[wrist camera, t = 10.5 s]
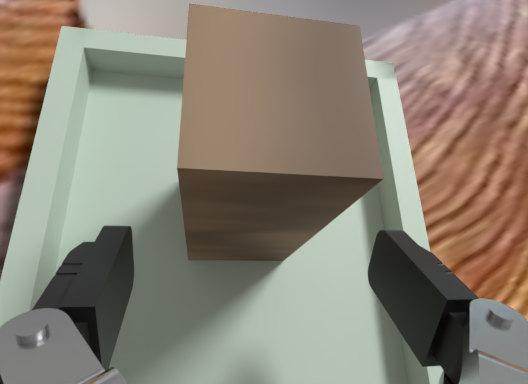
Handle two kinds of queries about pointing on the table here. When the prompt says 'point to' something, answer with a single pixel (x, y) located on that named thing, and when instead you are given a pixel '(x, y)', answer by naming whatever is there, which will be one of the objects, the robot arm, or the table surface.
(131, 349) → the tray
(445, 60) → the table surface
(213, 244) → the block
